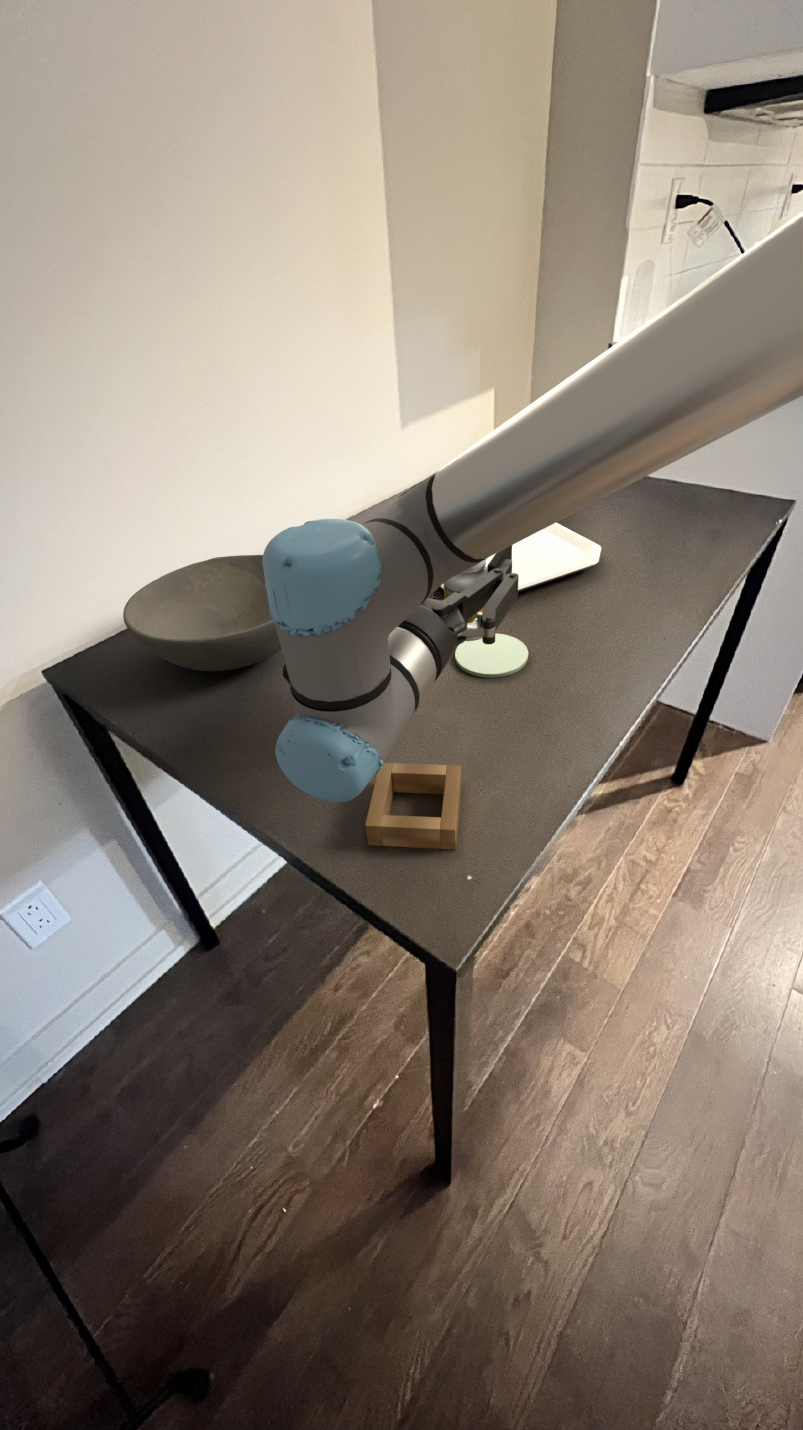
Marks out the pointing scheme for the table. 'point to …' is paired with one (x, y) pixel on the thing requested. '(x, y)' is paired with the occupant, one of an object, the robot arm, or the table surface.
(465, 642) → the coaster
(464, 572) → the supplement bottle
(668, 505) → the table surface
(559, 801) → the table surface
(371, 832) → the holder
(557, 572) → the plate
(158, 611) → the bowl
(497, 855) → the table surface
